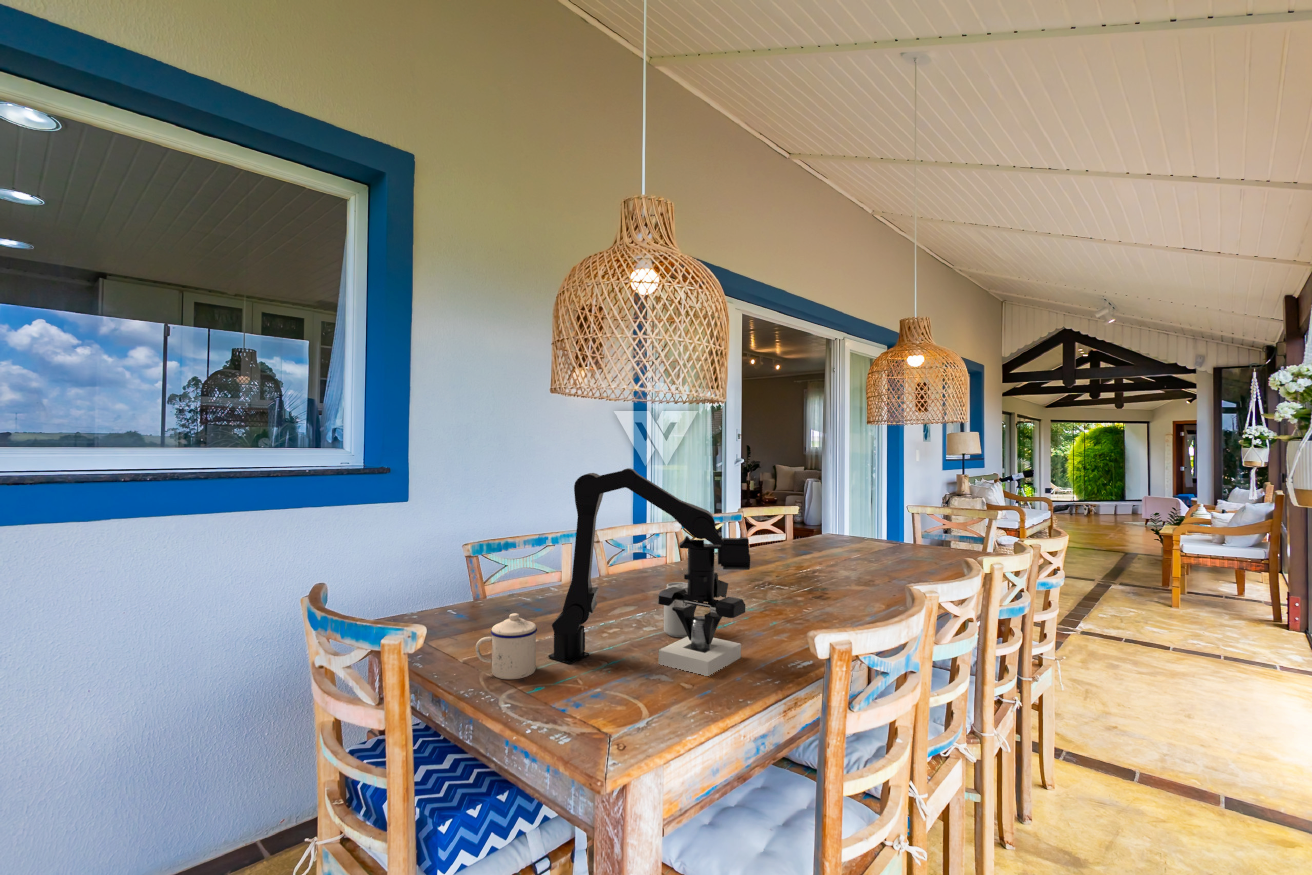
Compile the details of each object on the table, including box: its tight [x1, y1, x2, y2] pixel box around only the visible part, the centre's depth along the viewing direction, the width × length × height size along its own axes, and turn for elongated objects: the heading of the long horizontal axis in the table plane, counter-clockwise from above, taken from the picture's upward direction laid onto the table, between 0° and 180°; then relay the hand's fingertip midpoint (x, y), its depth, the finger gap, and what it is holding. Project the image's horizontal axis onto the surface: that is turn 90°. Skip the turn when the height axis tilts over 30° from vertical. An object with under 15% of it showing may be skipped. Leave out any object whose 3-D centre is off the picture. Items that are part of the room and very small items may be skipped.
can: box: [663, 581, 688, 638], centre depth 152 cm, size 8×8×12 cm
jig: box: [658, 636, 742, 677], centre depth 134 cm, size 14×12×3 cm
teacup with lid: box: [475, 612, 538, 680], centre depth 126 cm, size 12×9×12 cm
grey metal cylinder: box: [691, 615, 710, 653], centre depth 134 cm, size 4×4×7 cm
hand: (700, 641), depth 134 cm, fingers closed on grey metal cylinder, 4 cm apart
